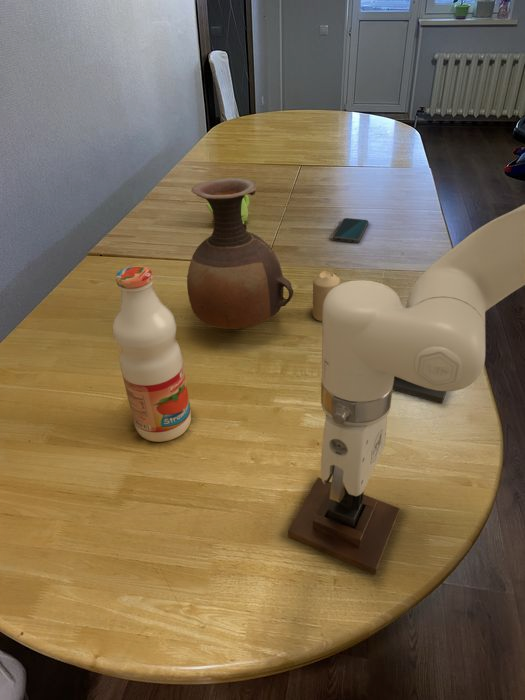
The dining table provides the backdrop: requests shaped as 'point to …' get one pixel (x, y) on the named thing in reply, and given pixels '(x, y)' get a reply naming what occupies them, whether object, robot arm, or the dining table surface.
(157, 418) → the fruit juice
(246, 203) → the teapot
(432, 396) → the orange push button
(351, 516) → the rocker switch
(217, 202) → the vase
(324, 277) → the candle
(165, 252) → the dining table surface
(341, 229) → the smartphone
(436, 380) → the robot arm
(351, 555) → the brown flat stepped block
